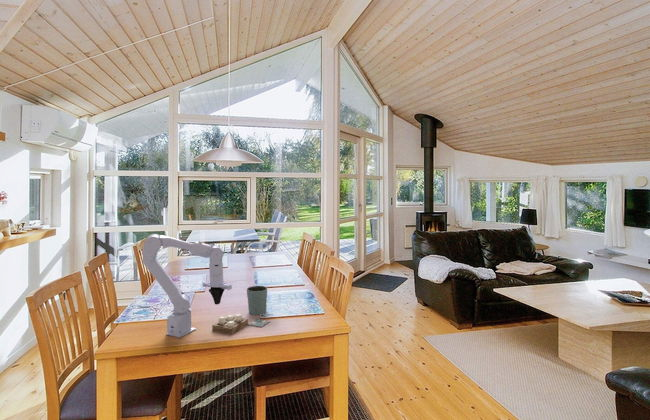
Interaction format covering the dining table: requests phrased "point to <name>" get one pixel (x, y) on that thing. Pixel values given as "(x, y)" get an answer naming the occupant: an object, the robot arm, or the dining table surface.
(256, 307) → the grey cup
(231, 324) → the button near right
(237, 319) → the button far right
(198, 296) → the dining table surface
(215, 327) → the board
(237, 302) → the dining table surface
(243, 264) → the dining table surface
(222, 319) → the button near left
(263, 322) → the card
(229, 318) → the button far left
